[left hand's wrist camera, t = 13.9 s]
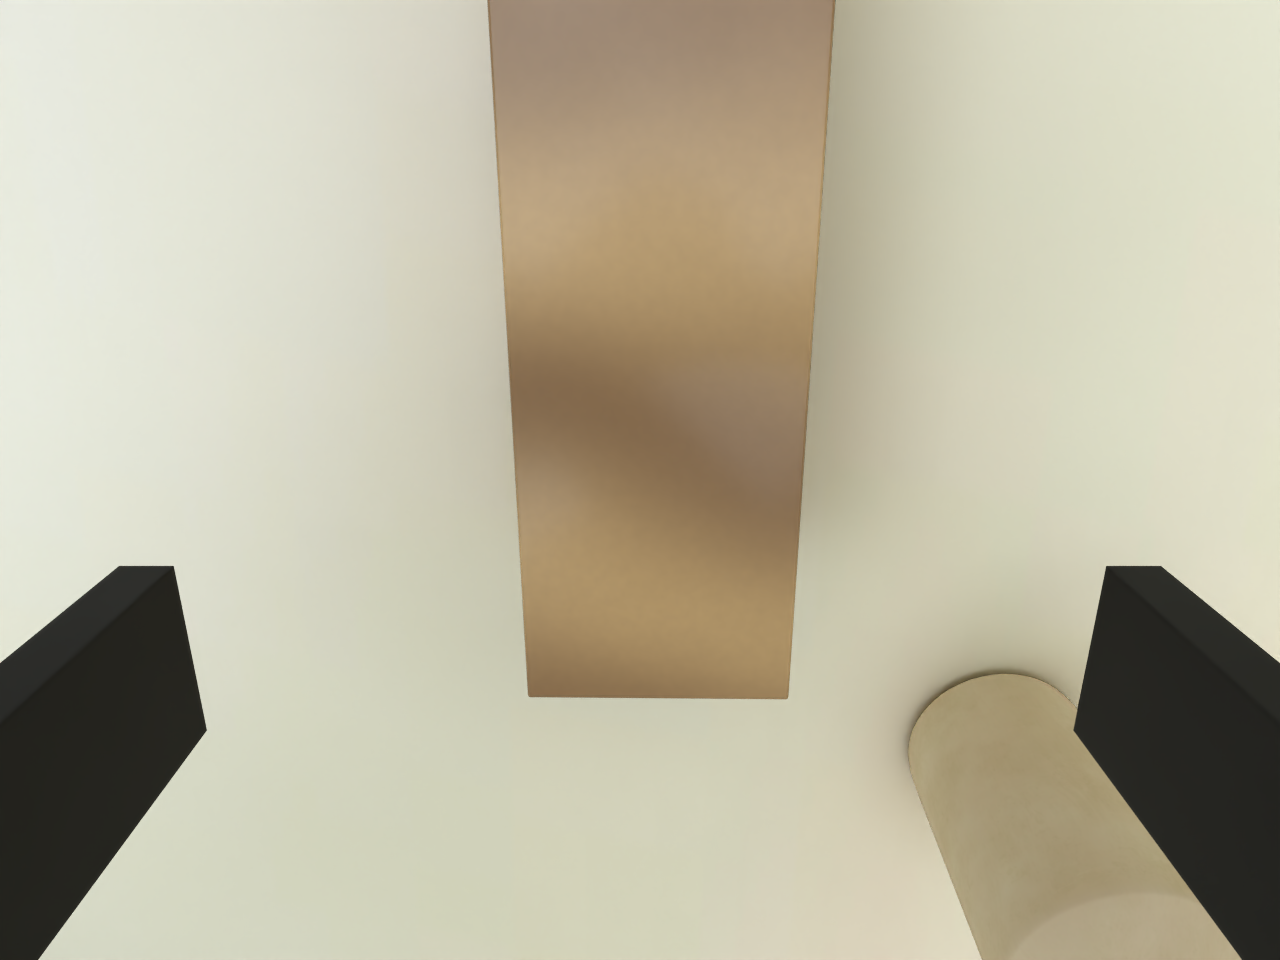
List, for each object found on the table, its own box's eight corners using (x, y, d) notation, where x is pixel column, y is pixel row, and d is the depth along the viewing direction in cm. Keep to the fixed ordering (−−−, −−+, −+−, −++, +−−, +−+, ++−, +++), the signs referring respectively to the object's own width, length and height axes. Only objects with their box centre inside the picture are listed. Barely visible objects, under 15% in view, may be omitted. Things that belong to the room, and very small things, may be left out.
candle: (871, 770, 29) (971, 1074, 20) (974, 642, 27) (1137, 911, 18) (1009, 837, 30) (1167, 1157, 21) (1118, 717, 28) (1345, 1009, 19)
